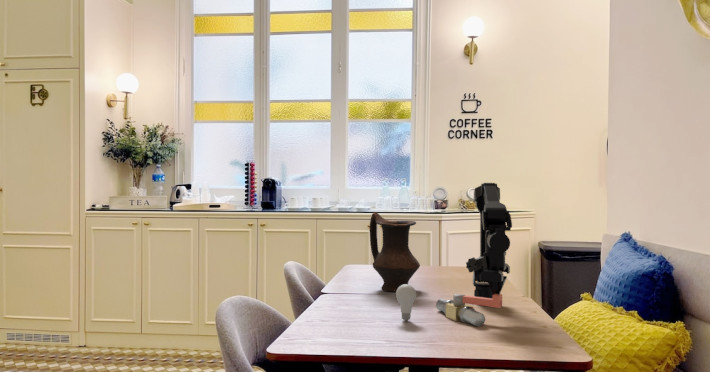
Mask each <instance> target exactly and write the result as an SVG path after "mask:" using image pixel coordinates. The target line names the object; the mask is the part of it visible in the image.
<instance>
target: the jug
mask: <svg viewBox="0 0 710 372" xmlns="http://www.w3.org/2000/svg"><path fill="white" fill-rule="evenodd" d="M416 224H417V221H415V220H389V219H385V218H384V217H382V216H381V215H380V214H379V213H378V212H373V213H372V214H371V218H370V220H369V241H370V242H369V243H370V250H371V254H372V258H373V262H372V268H373V269H374V270H375V271H376V272H377V274H378V275H379V277H381V278H382V281H383V284H382V286H381V290H382V291H383V292H391V293H396V291H397V289H398V288H399V287H400V286H401V285H403V284H409V282H410V280H411V278H412V277H413V276H414V274H415V273H416V272H417V271H418V270H419V269H420V267H421V266H420V265H421V264H420V262H419V261H418V260H417V258H416V257H415V256H414V254H412V252H411V249H410V247H409V243H410V242H409V236H410V235H409V233H410V229H411V226H415V225H416ZM377 225H378V226H380V227H381V229H382V230H381V231H382V248H381V250H380V251H379V247H378V236H377V232H378V231H377V229H378V228H377V227H378V226H377Z"/></svg>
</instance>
